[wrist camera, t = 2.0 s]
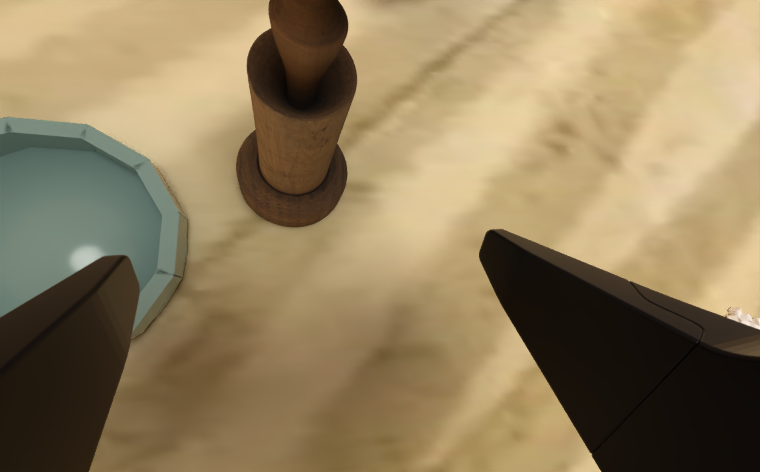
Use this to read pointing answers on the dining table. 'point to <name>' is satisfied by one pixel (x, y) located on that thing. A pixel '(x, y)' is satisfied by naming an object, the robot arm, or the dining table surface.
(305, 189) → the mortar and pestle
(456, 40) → the dining table surface
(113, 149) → the glazed dish
